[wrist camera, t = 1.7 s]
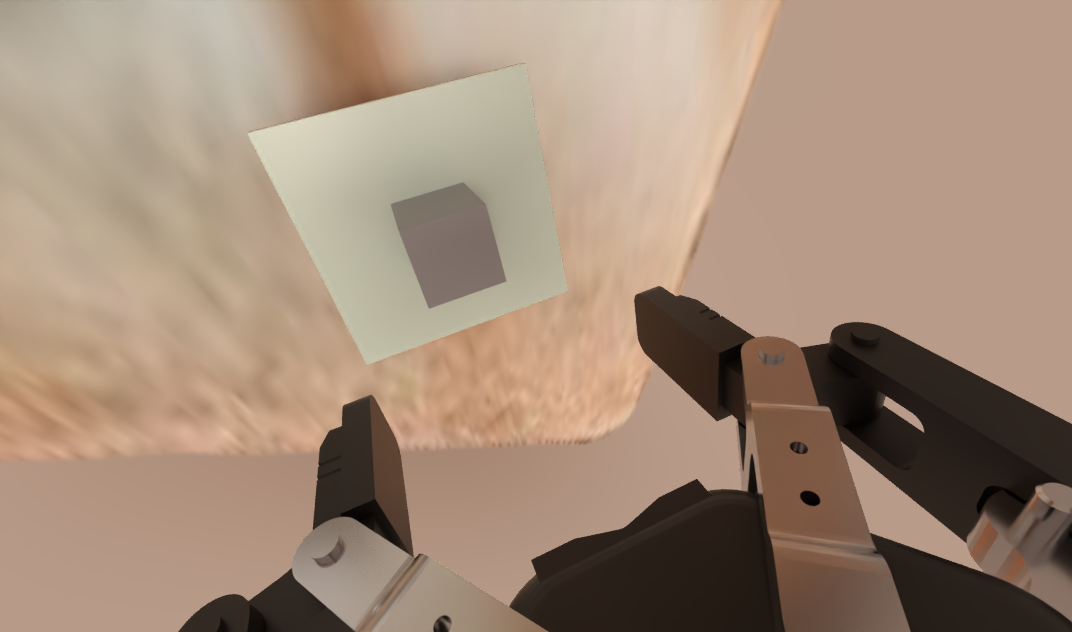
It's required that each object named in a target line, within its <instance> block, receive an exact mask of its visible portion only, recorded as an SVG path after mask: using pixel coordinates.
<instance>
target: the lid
mask: <svg viewBox="0 0 1072 632" xmlns="http://www.w3.org/2000/svg"><path fill="white" fill-rule="evenodd" d="M247 134H248V136H249V138H250V140H251V142H252V144H253V146H254V148H255V150H256V152H257V154H258V156H259V158H260V160H261V162H262V163H263V165H264V167H265V169H266V171H267V173H268V175H269V177H270V179H271V181H272V183H273V185H274V187H275V189H276V191H277V192H278V194H279V196H280V198H281V200H282V202H283V204H284V206H285V208H286V210H287V212H288V214H289V216H290V218H291V220H292V221H293V223H294V225H295V227H296V229H297V231H298V233H299V235H300V237H301V239H302V241H303V243H304V245H305V247H306V249H307V250H308V252H309V254H310V256H311V258H312V260H313V262H314V264H315V266H316V268H317V270H318V272H319V274H320V276H321V278H322V279H323V281H324V283H325V285H326V287H327V289H328V291H329V293H330V295H331V297H332V299H333V301H334V303H335V305H336V307H337V308H338V310H339V312H340V314H341V316H342V318H343V320H344V322H345V324H346V326H347V328H348V330H349V332H350V334H351V336H352V337H353V339H354V341H355V343H356V345H357V347H358V349H359V351H360V353H361V355H362V357H363V359H364V361H365V363H366V365H369V364H371V363H374V362H377V361H380V360H382V359H385V358H388V357H390V356H393V355H396V354H399V353H401V352H404V351H407V350H410V349H412V348H415V347H418V346H420V345H423V344H426V343H429V342H431V341H434V340H437V339H439V338H442V337H445V336H448V335H450V334H453V333H456V332H458V331H461V330H464V329H467V328H469V327H472V326H475V325H478V324H480V323H483V322H486V321H488V320H491V319H494V318H497V317H499V316H502V315H505V314H507V313H510V312H513V311H516V310H518V309H521V308H524V307H527V306H529V305H532V304H535V303H537V302H540V301H543V300H546V299H548V298H551V297H554V296H556V295H559V294H562V293H565V292H567V291H568V289H567V284H566V278H565V273H564V267H563V262H562V257H561V251H560V246H559V241H558V235H557V230H556V224H555V219H554V214H553V208H552V203H551V197H550V192H549V187H548V181H547V176H546V171H545V165H544V160H543V154H542V149H541V144H540V138H539V133H538V127H537V122H536V117H535V111H534V106H533V101H532V95H531V90H530V84H529V79H528V74H527V68H526V63H521V64H516V65H512V66H508V67H504V68H500V69H496V70H492V71H488V72H484V73H480V74H476V75H472V76H468V77H464V78H460V79H456V80H452V81H448V82H444V83H440V84H436V85H432V86H428V87H424V88H420V89H416V90H412V91H408V92H405V93H401V94H397V95H393V96H389V97H385V98H381V99H377V100H373V101H369V102H365V103H361V104H357V105H353V106H349V107H345V108H341V109H337V110H333V111H329V112H325V113H321V114H317V115H313V116H309V117H305V118H301V119H297V120H293V121H289V122H285V123H281V124H277V125H273V126H269V127H265V128H261V129H257V130H253V131H250V132H248V133H247Z"/></svg>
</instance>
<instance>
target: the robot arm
mask: <svg viewBox="0 0 1072 632" xmlns="http://www.w3.org/2000/svg"><path fill="white" fill-rule="evenodd" d="M634 302H635V313H636V324H637V334H638V340H639V343H640V345H641V347H642V349H643V351H644V352H645V354H646V355H647V356H648V357H649V358H650V359H651V360H652V361H654V362H655V363H656V364H657V365H658V366H659V367H660V368H661V369H662V370H663V371H664V372H665V373H666V374H667V375H668V376H670V377H671V378H672V379H673V380H674V381H675V382H676V383H677V384H678V385H679V386H680V387H681V388H682V389H683V390H684V391H685V392H686V393H688V394H689V395H690V396H691V397H692V398H693V399H694V400H695V401H696V402H697V403H698V404H699V405H700V406H701V407H702V408H703V409H705V410H706V411H707V412H708V413H709V414H710V415H711V416H712V417H713V418H714V419H715V420H716V421H719V420H721V419H723V418H726V417H728V416H730V415H733V416H734V417H735V418H736V419H737V439H738V450H739V461H740V472H741V485H742V491H740V490H727V489H721V490H710V491H707V490H706V489H705V488H704V487H703V485H702V484H701V483H700V482H699V481H698V480H697V479H696V480H694V481H692V482H690V483H688V484H686V485H684V486H682V487H680V488H677V489H676V490H673V491H671V492H669V493H667V494H665V495H663V496H661V497H659V498H658V499H657V500H656V501H654V502H653V503H652V504H651V505H650V506H649V507H648V508H647V509H645V510H644V511H643V512H642V513H641V514H640V515H639V516H638V517H636V518H635V519H634V520H633V521H632V522H631V523H630V524H629V525H627V526H626V527H624V528H622V529H619V530H615V531H610V532H605V533H600V534H596V535H591V536H586V537H581V538H576V539H574V540H571V541H569V542H567V543H565V544H563V545H561V546H559V547H557V548H555V549H553V550H551V551H549V552H547V553H545V554H543V555H541V556H538V557H536V558H534V559H533V560H531V561H532V564H533V566H534V569H535V571H536V575H535V576H534V577H533V578H532V579H531V580H530V581H528V583H527V584H526V585H525V586H524V587H523V588H522V589H521V590H520V591H519V593H518V594H517V595H516V597H515V598H514V600H513V601H512V603H511V604H510V606H509V607H508V606H507V605H505V604H504V603H502V602H500V601H499V600H497V599H496V598H494V597H492V596H491V595H489V594H488V593H486V592H484V591H483V590H481V589H480V588H478V587H476V586H475V585H473V584H472V583H470V582H468V581H467V580H465V579H464V578H462V577H461V576H459V575H457V574H456V573H454V572H453V571H451V570H449V569H448V568H446V567H445V566H443V565H441V564H440V563H438V562H437V561H435V560H433V559H432V558H430V557H428V556H426V555H424V554H419V555H418V556H417V557H416V558H414V555H413V548H412V540H411V532H410V524H409V516H408V509H407V501H406V493H405V486H404V478H403V471H402V462H401V455H400V450H399V447H398V444H397V441H396V438H395V436H394V434H393V432H392V430H391V428H390V426H389V424H388V422H387V420H386V419H385V417H384V415H383V413H382V411H381V409H380V407H379V405H378V403H377V402H376V400H375V398H374V397H373V396H372V395H369V396H367V397H364V398H361V399H359V400H356V401H354V402H351V403H348V404H346V405H344V406H343V411H342V426H341V427H338V428H336V429H333V430H331V431H329V432H328V434H327V436H326V438H325V440H324V441H323V443H322V445H321V447H320V452H319V467H318V475H317V478H318V481H317V487H316V499H315V511H314V522H313V531H312V532H311V533H310V534H309V535H308V536H307V537H306V538H305V539H304V540H303V542H302V543H301V544H300V546H299V547H298V549H297V551H296V553H295V556H294V559H293V563H292V568H291V569H290V570H289V571H288V572H287V573H285V574H284V575H283V576H282V577H281V578H279V579H278V580H277V581H275V582H274V583H272V584H271V585H270V586H269V587H267V588H266V589H264V590H263V591H262V592H261V593H259V594H258V595H256V596H255V597H253V598H252V599H251V600H249V601H247V600H246V599H245V598H244V597H243V596H241V595H237V594H232V595H226V596H222V597H220V598H217V599H215V600H213V601H212V602H210V603H208V604H207V605H205V606H204V607H202V608H201V609H200V610H199V611H197V612H196V613H195V614H194V615H193V616H192V617H191V618H190V619H189V620H188V621H187V622H186V623H185V624H184V626H183V627H182V628H181V629H180V630H179V632H1072V424H1071V423H1069V422H1067V421H1065V420H1063V419H1061V418H1059V417H1057V416H1055V415H1053V414H1051V413H1049V412H1047V411H1045V410H1044V409H1041V408H1040V407H1038V406H1036V405H1034V404H1032V403H1030V402H1028V401H1026V400H1024V399H1022V398H1020V397H1018V396H1016V395H1014V394H1013V393H1011V392H1009V391H1007V390H1005V389H1003V388H1001V387H999V386H997V385H995V384H993V383H991V382H989V381H987V380H985V379H983V378H981V377H980V376H978V375H976V374H974V373H972V372H970V371H968V370H966V369H964V368H962V367H960V366H958V365H956V364H954V363H952V362H950V361H948V360H947V359H945V358H943V357H941V356H939V355H937V354H935V353H933V352H931V351H929V350H927V349H925V348H923V347H921V346H919V345H917V344H915V343H914V342H912V341H910V340H908V339H906V338H904V337H902V336H900V335H898V334H896V333H894V332H892V331H890V330H888V329H886V328H884V327H881V326H878V325H875V324H870V323H863V322H851V323H845V324H841V325H839V326H837V327H835V328H834V329H833V330H832V332H831V336H830V342H829V343H827V344H820V345H814V346H809V347H802V348H800V347H798V346H797V345H796V344H794V343H793V342H791V341H789V340H786V339H783V338H778V337H769V336H766V337H757V338H755V337H754V336H752V335H751V334H749V333H747V332H746V331H744V330H743V329H741V328H740V327H738V326H736V325H735V324H733V323H732V322H730V321H729V320H727V319H726V318H724V317H723V316H721V317H720V315H719V314H718V313H716V312H715V311H713V310H710V309H709V307H707V306H705V305H704V304H703V303H701V302H699V301H698V300H695V299H692V298H689V297H685V296H682V295H679V296H677V297H676V296H674V295H673V294H672V293H670V292H669V291H667V290H666V289H664V288H663V287H660V286H658V287H655V288H652V289H650V290H647V291H644V292H642V293H639V294H637V295H636V296H635V300H634ZM886 396H887V397H889V398H890V399H892V400H893V401H895V402H896V403H898V404H899V405H901V406H903V407H904V408H906V409H907V410H909V411H910V412H912V413H913V414H914V415H916V417H917V418H918V419H919V420H920V421H921V423H922V425H923V428H924V433H923V432H922V431H921V430H919V429H918V428H916V427H915V426H913V425H912V424H910V423H908V422H907V421H906V420H904V419H903V418H901V417H900V416H898V415H897V414H895V413H894V412H892V411H891V410H889V409H888V408H886V407H885V406H883V404H884V400H885V397H886ZM841 441H842V442H843V443H844V444H845V445H847V446H848V447H849V448H850V449H851V450H853V451H854V452H855V453H856V454H858V455H859V456H860V457H861V458H862V459H864V460H865V461H866V462H868V463H869V464H870V465H871V466H872V467H874V468H875V469H876V470H877V471H878V472H880V473H881V474H882V475H883V476H885V477H886V478H887V479H888V480H889V481H891V482H892V483H893V484H894V485H896V486H897V487H898V488H899V489H901V490H902V491H903V492H904V493H905V494H907V495H908V496H909V497H910V498H912V499H913V500H914V501H915V502H917V503H918V504H919V505H920V506H921V507H923V508H924V509H925V510H926V511H928V512H929V513H930V514H931V515H933V516H934V517H935V518H936V519H937V520H939V521H940V522H941V523H942V524H944V525H945V526H946V527H947V528H949V529H950V530H951V531H952V532H954V533H955V534H956V535H957V536H958V537H960V538H961V539H962V540H963V541H965V542H966V543H967V546H968V549H969V552H970V554H971V556H972V557H973V559H974V560H975V562H976V563H977V564H978V565H979V567H980V568H982V570H983V571H982V572H981V571H978V570H975V569H972V568H969V567H966V566H963V565H961V564H958V563H955V562H952V561H949V560H946V559H943V558H940V557H938V556H935V555H932V554H929V553H926V552H923V551H920V550H918V549H915V548H912V547H909V546H906V545H903V544H900V543H897V542H895V541H892V540H889V539H886V538H883V537H880V536H877V535H875V534H872V533H870V532H869V529H868V525H867V522H866V519H865V516H864V513H863V510H862V507H861V504H860V501H859V497H858V494H857V491H856V488H855V485H854V482H853V479H852V476H851V472H850V469H849V466H848V463H847V460H846V457H845V454H844V451H843V447H842V444H841Z"/></svg>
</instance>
